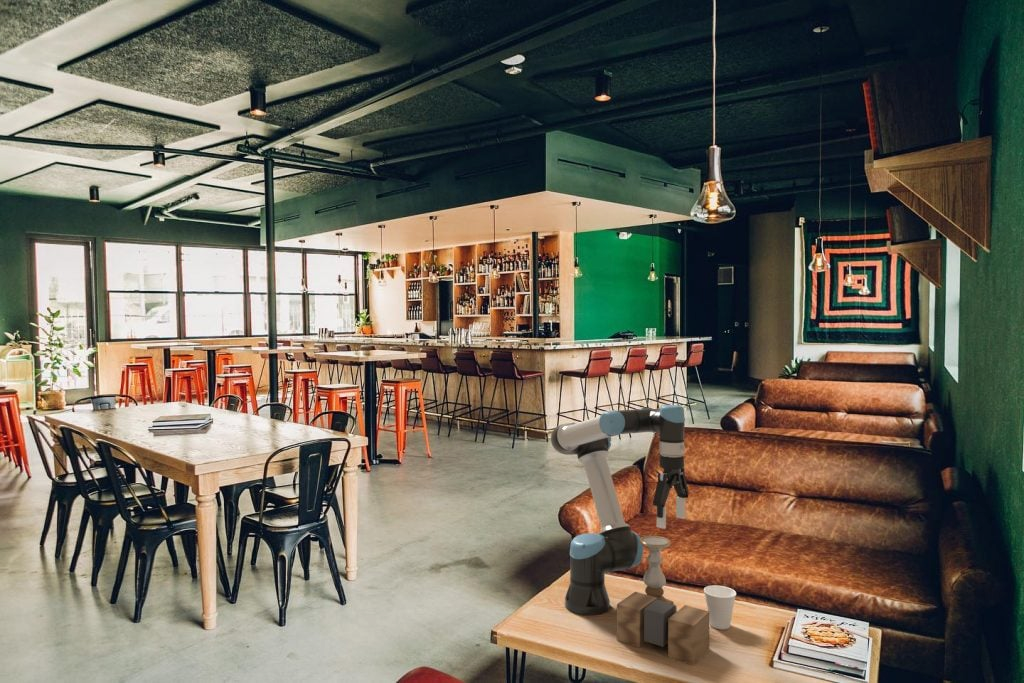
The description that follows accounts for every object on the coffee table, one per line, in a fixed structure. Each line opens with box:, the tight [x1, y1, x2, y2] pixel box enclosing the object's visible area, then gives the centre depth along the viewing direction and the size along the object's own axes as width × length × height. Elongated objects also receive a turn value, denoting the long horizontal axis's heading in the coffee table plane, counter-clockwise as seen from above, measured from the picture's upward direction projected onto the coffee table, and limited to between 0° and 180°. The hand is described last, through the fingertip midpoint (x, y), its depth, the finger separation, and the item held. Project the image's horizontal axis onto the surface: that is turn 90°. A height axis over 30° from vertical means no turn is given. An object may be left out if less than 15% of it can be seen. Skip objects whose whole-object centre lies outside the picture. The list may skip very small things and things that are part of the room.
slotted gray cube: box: [644, 600, 676, 647], centre depth 190 cm, size 6×8×9 cm
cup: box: [703, 584, 737, 630], centre depth 204 cm, size 10×10×11 cm
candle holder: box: [639, 535, 678, 613], centre depth 215 cm, size 11×11×24 cm
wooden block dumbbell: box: [616, 591, 710, 666], centre depth 191 cm, size 24×12×11 cm, turn 52°
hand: (671, 522), depth 201 cm, fingers open, 13 cm apart
